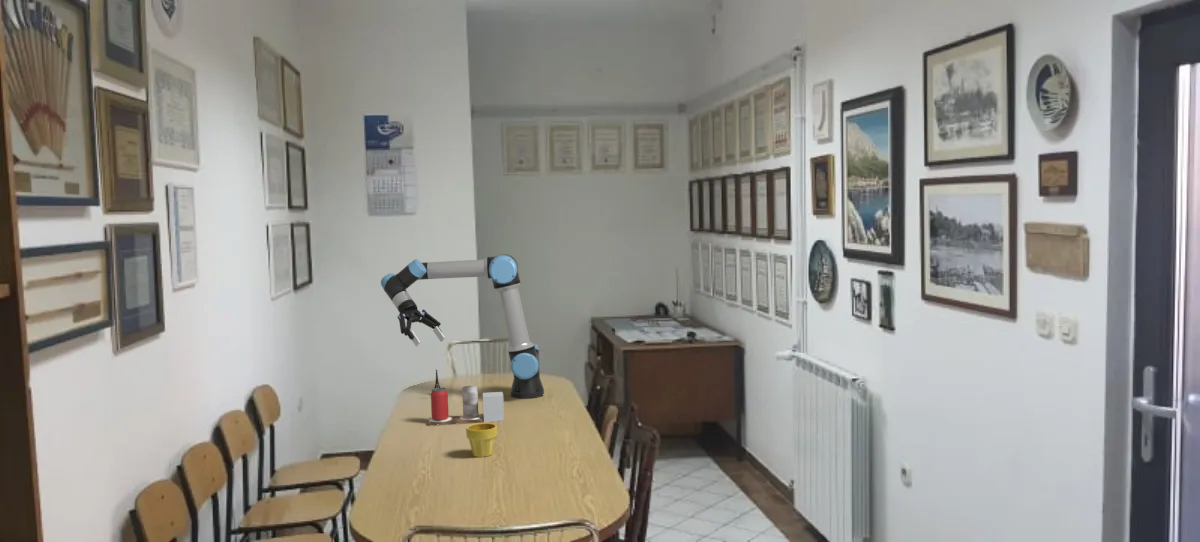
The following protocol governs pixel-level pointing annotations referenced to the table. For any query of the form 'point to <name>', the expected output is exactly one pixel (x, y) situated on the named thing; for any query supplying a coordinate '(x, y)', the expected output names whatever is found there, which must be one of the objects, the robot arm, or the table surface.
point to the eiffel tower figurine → (436, 381)
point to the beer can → (439, 404)
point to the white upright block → (493, 406)
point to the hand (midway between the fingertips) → (430, 342)
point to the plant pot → (482, 438)
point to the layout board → (464, 409)
